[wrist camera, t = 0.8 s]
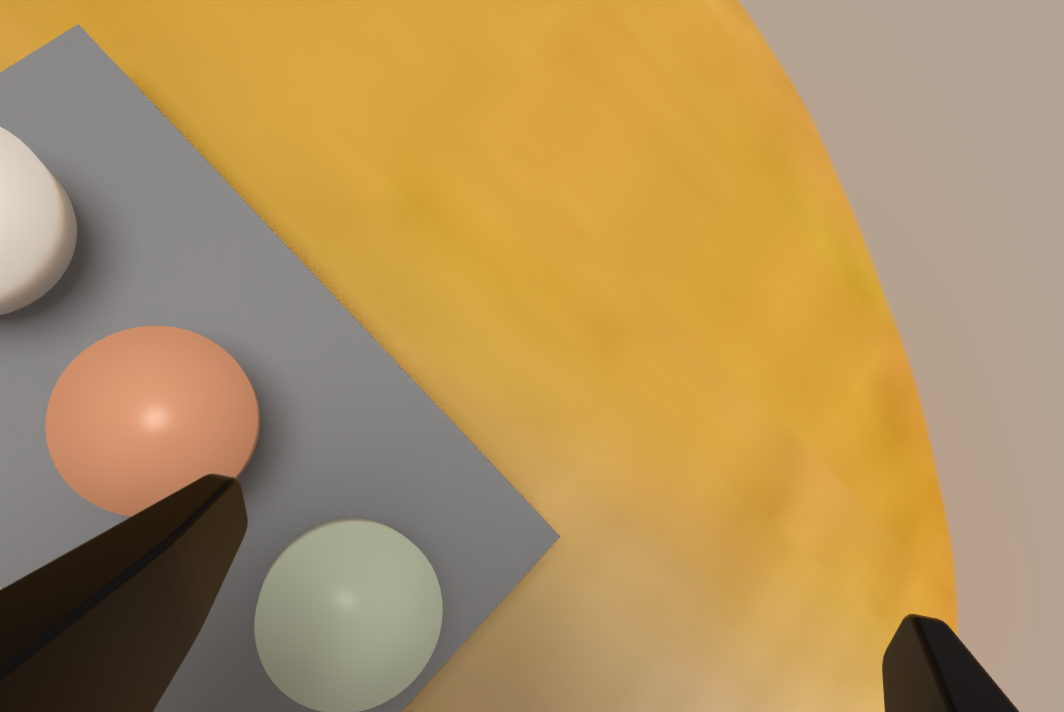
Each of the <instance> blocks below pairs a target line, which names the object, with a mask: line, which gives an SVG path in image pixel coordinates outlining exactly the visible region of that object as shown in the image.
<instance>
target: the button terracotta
mask: <svg viewBox="0 0 1064 712" xmlns="http://www.w3.org/2000/svg"><path fill="white" fill-rule="evenodd" d="M45 432H46V439H47V445H48V449H49V452H50V455H51V458H52V460H53V462H54V464H55V467H56V469H57V470H58V472H59V473H60V475H61V476H62V478H63V479H64V480H65V481H66V483H67V484H68V485H69V486H70V487H71V488H72V489H73V490H74V491H75V492H76V493H78V494H79V495H80V496H81V497H82V498H84V499H86V500H87V501H89V502H90V503H92V504H94V505H96V506H98V507H100V508H102V509H104V510H107V511H110V512H113V513H116V514H120V515H125V516H133V515H135V514H137V513H138V512H140V511H142V510H144V509H146V508H147V507H149V506H151V505H153V504H155V503H156V502H158V501H160V500H162V499H164V498H165V497H167V496H169V495H171V494H172V493H174V492H176V491H178V490H180V489H181V488H183V487H185V486H187V485H189V484H190V483H192V482H194V481H196V480H198V479H199V478H201V477H203V476H205V475H208V474H219V475H224V476H229V477H234V478H236V479H237V478H238V477H239V476H240V474H241V473H242V472H243V470H244V469H245V468H246V466H247V465H248V463H249V461H250V459H251V458H252V455H253V453H254V451H255V448H256V445H257V441H258V438H259V432H260V409H259V403H258V399H257V396H256V393H255V391H254V388H253V386H252V384H251V382H250V380H249V379H248V377H247V376H246V374H245V373H244V371H243V370H242V368H241V367H240V365H239V364H238V363H237V362H236V361H235V359H234V358H233V357H232V356H231V355H230V354H229V353H228V352H226V351H225V350H224V349H223V348H222V347H220V346H219V345H218V344H216V343H215V342H213V341H212V340H210V339H208V338H206V337H204V336H202V335H200V334H197V333H194V332H192V331H189V330H185V329H181V328H176V327H168V326H143V327H135V328H131V329H127V330H123V331H120V332H117V333H114V334H112V335H109V336H107V337H105V338H103V339H101V340H99V341H97V342H95V343H94V344H92V345H91V346H89V347H88V348H87V349H85V350H84V351H83V352H82V353H80V354H79V355H78V356H77V357H76V358H75V359H74V360H73V361H72V362H71V363H70V364H69V365H68V367H67V368H66V369H65V370H64V372H63V373H62V375H61V376H60V378H59V379H58V381H57V383H56V385H55V387H54V389H53V391H52V394H51V397H50V400H49V403H48V407H47V413H46V426H45Z"/></svg>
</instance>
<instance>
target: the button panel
mask: <svg viewBox="0 0 1064 712" xmlns="http://www.w3.org/2000/svg"><path fill="white" fill-rule="evenodd" d="M0 127H2V128H4V129H5V130H7V131H9V132H10V133H12V134H13V135H14V136H16V137H17V138H19V139H20V140H21V141H22V142H23V143H24V144H25V145H26V146H27V147H29V148H30V150H31V151H32V152H33V153H34V154H35V155H36V156H37V158H38V159H39V160H40V161H41V162H42V163H43V164H44V165H45V167H46V168H47V169H48V170H49V171H50V172H51V173H52V174H53V176H54V177H55V178H56V179H57V180H58V181H59V183H60V184H61V185H62V187H63V188H64V190H65V191H66V193H67V194H68V197H69V199H70V201H71V203H72V206H73V209H74V212H75V216H76V223H77V240H76V246H75V250H74V253H73V256H72V259H71V261H70V263H69V265H68V267H67V269H66V271H65V272H64V274H63V275H62V277H61V278H60V280H59V281H58V282H57V283H56V284H55V285H54V286H53V287H52V288H51V289H50V290H49V291H48V292H47V293H45V294H44V295H43V296H42V297H40V298H39V299H37V300H36V301H34V302H33V303H31V304H29V305H27V306H25V307H23V308H21V309H19V310H16V311H13V312H10V313H7V314H3V315H0V587H1V588H4V587H6V586H8V585H10V584H11V583H13V582H15V581H17V580H18V579H20V578H22V577H24V576H26V575H27V574H29V573H31V572H33V571H35V570H36V569H38V568H40V567H42V566H44V565H45V564H47V563H49V562H51V561H52V560H54V559H56V558H58V557H60V556H61V555H63V554H65V553H67V552H69V551H70V550H72V549H74V548H76V547H78V546H79V545H81V544H83V543H85V542H87V541H88V540H90V539H92V538H94V537H95V536H97V535H99V534H101V533H103V532H104V531H106V530H108V529H110V528H112V527H113V526H115V525H117V524H119V523H121V522H122V521H124V520H126V519H128V518H129V517H131V516H125V515H120V514H116V513H113V512H110V511H107V510H104V509H102V508H100V507H98V506H96V505H94V504H92V503H90V502H89V501H87V500H86V499H84V498H82V497H81V496H80V495H79V494H78V493H76V492H75V491H74V490H73V489H72V488H71V487H70V486H69V485H68V484H67V483H66V481H65V480H64V479H63V478H62V476H61V475H60V473H59V472H58V470H57V469H56V467H55V464H54V462H53V460H52V458H51V455H50V452H49V449H48V445H47V439H46V432H45V426H46V413H47V407H48V403H49V400H50V397H51V394H52V391H53V389H54V387H55V385H56V383H57V381H58V379H59V378H60V376H61V375H62V373H63V372H64V370H65V369H66V368H67V367H68V365H69V364H70V363H71V362H72V361H73V360H74V359H75V358H76V357H77V356H78V355H79V354H80V353H82V352H83V351H84V350H85V349H87V348H88V347H89V346H91V345H92V344H94V343H95V342H97V341H99V340H101V339H103V338H105V337H107V336H109V335H112V334H114V333H117V332H120V331H123V330H127V329H131V328H135V327H143V326H168V327H176V328H181V329H185V330H189V331H192V332H194V333H197V334H200V335H202V336H204V337H206V338H208V339H210V340H212V341H213V342H215V343H216V344H218V345H219V346H220V347H222V348H223V349H224V350H225V351H226V352H228V353H229V354H230V355H231V356H232V357H233V358H234V359H235V361H236V362H237V363H238V364H239V365H240V367H241V368H242V370H243V371H244V373H245V374H246V376H247V377H248V379H249V380H250V382H251V384H252V386H253V388H254V391H255V393H256V396H257V399H258V403H259V409H260V432H259V438H258V441H257V445H256V448H255V451H254V453H253V455H252V458H251V459H250V461H249V463H248V465H247V466H246V468H245V469H244V470H243V472H242V473H241V474H240V476H239V477H238V478H237V479H238V480H239V482H240V483H241V486H242V491H243V496H244V501H245V506H246V511H247V516H248V526H247V531H246V534H245V536H244V539H243V541H242V543H241V545H240V547H239V550H238V552H237V554H236V556H235V558H234V560H233V563H232V565H231V567H230V569H229V571H228V573H227V576H226V578H225V580H224V582H223V584H222V586H221V589H220V591H219V593H218V595H217V597H216V599H215V602H214V604H213V606H212V608H211V610H210V613H209V615H208V617H207V619H206V621H205V623H204V625H203V627H202V629H201V631H200V633H199V635H198V637H197V638H196V640H195V642H194V644H193V645H192V647H191V649H190V651H189V652H188V654H187V656H186V657H185V659H184V661H183V662H182V664H181V666H180V667H179V669H178V671H177V672H176V674H175V676H174V677H173V679H172V681H171V682H170V684H169V686H168V688H167V689H166V691H165V693H164V694H163V696H162V698H161V699H160V701H159V703H158V704H157V706H156V708H155V709H154V711H153V712H321V711H317V710H313V709H310V708H308V707H305V706H303V705H301V704H299V703H297V702H296V701H294V700H292V699H291V698H289V697H288V696H287V695H286V694H284V693H283V692H282V691H281V690H280V689H279V688H278V687H277V686H276V685H275V684H274V683H273V681H272V680H271V679H270V677H269V676H268V674H267V673H266V671H265V669H264V667H263V665H262V663H261V660H260V658H259V654H258V651H257V648H256V641H255V635H254V620H255V612H256V607H257V603H258V599H259V595H260V591H261V588H262V584H263V581H264V579H265V576H266V574H267V572H268V570H269V568H270V566H271V564H272V563H273V561H274V560H275V558H276V557H277V555H278V554H279V553H280V551H281V550H282V549H283V548H284V547H285V546H286V545H287V544H288V543H289V542H290V541H291V540H293V539H294V538H295V537H296V536H297V535H299V534H300V533H302V532H303V531H305V530H307V529H308V528H310V527H312V526H314V525H317V524H319V523H322V522H325V521H328V520H332V519H337V518H344V517H361V518H367V519H372V520H375V521H378V522H381V523H384V524H386V525H388V526H390V527H392V528H394V529H395V530H397V531H398V532H400V533H401V534H402V535H404V536H405V537H406V538H407V539H409V540H410V541H411V542H412V543H413V544H414V545H415V546H417V547H418V548H419V549H420V551H421V552H422V553H423V554H424V555H425V556H426V558H427V559H428V561H429V563H430V564H431V566H432V567H433V570H434V572H435V574H436V576H437V579H438V582H439V586H440V589H441V595H442V605H443V615H442V625H441V630H440V634H439V638H438V641H437V644H436V647H435V649H434V651H433V653H432V655H431V657H430V659H429V661H428V662H427V664H426V666H425V667H424V669H423V670H422V671H421V673H420V674H419V675H418V676H417V678H416V679H415V680H414V681H413V682H412V683H411V684H410V685H409V686H408V687H407V688H406V689H404V690H403V691H402V692H400V693H399V694H398V695H396V696H395V697H393V698H392V699H390V700H388V701H387V702H385V703H383V704H380V705H378V706H376V707H373V708H370V709H367V710H363V711H359V712H401V711H402V710H403V709H404V708H405V707H406V706H407V705H408V704H409V703H410V702H411V700H412V699H413V698H414V697H415V696H416V695H417V694H418V693H419V692H420V691H421V689H422V688H423V687H424V686H425V685H426V684H427V683H428V682H429V681H430V680H431V678H432V677H433V676H434V675H435V674H436V673H437V672H438V671H439V670H440V669H441V667H442V666H443V665H444V664H445V663H446V662H447V661H448V660H449V659H450V657H451V656H452V655H453V654H454V653H455V652H456V651H457V650H458V649H459V648H460V646H461V645H462V644H463V643H464V642H465V641H466V640H467V639H468V638H469V637H470V635H471V634H472V633H473V632H474V631H475V630H476V629H477V628H478V627H479V626H480V624H481V623H482V622H483V621H484V620H485V619H486V618H487V617H488V616H489V614H490V613H491V612H492V611H493V610H494V609H495V608H496V607H497V606H498V605H499V603H500V602H501V601H502V600H503V599H504V598H505V597H506V596H507V595H508V594H509V592H510V591H511V590H512V589H513V588H514V587H515V586H516V585H517V584H518V583H519V581H520V580H521V579H522V578H523V577H524V576H525V575H526V574H527V573H528V572H529V570H530V569H531V568H532V567H533V566H534V565H535V564H536V563H537V562H538V560H539V559H540V558H541V557H542V556H543V555H544V554H545V553H546V552H547V551H548V549H549V548H550V547H551V546H552V545H553V544H554V543H555V542H556V541H557V540H558V538H559V537H560V536H559V535H558V534H557V533H556V532H555V531H554V529H553V528H552V527H551V526H550V525H549V524H548V523H547V522H546V521H545V520H544V519H543V518H542V517H541V516H540V515H539V513H538V512H537V511H536V510H535V509H534V508H533V507H532V506H531V505H530V504H529V503H528V502H527V501H526V500H525V499H524V498H523V496H522V495H521V494H520V493H519V492H518V491H517V490H516V489H515V488H514V487H513V486H512V485H511V484H510V483H509V482H508V481H507V479H506V478H505V477H504V476H503V475H502V474H501V473H500V472H499V471H498V470H497V469H496V468H495V467H494V466H493V465H492V464H491V462H490V461H489V460H488V459H487V458H486V457H485V456H484V455H483V454H482V453H481V452H480V451H479V450H478V449H477V448H476V447H475V445H474V444H473V443H472V442H471V441H470V440H469V439H468V438H467V437H466V436H465V435H464V434H463V433H462V432H461V431H460V430H459V428H458V427H457V426H456V425H455V424H454V423H453V422H452V421H451V420H450V419H449V418H448V417H447V416H446V415H445V414H444V412H443V411H442V410H441V409H440V408H439V407H438V406H437V405H436V404H435V403H434V402H433V401H432V400H431V399H430V398H429V397H428V395H427V394H426V393H425V392H424V391H423V390H422V389H421V388H420V387H419V386H418V385H417V384H416V383H415V382H414V381H413V380H412V378H411V377H410V376H409V375H408V374H407V373H406V372H405V371H404V370H403V369H402V368H401V367H400V366H399V365H398V364H397V363H396V361H395V360H394V359H393V358H392V357H391V356H390V355H389V354H388V353H387V352H386V351H385V350H384V349H383V348H382V347H381V346H380V344H379V343H378V342H377V341H376V340H375V339H374V338H373V337H372V336H371V335H370V334H369V333H368V332H367V331H366V330H365V328H364V327H363V326H362V325H361V324H360V323H359V322H358V321H357V320H356V319H355V318H354V317H353V316H352V315H351V314H350V313H349V311H348V310H347V309H346V308H345V307H344V306H343V305H342V304H341V303H340V302H339V301H338V300H337V299H336V298H335V297H334V296H333V294H332V293H331V292H330V291H329V290H328V289H327V288H326V287H325V286H324V285H323V284H322V283H321V282H320V281H319V280H318V279H317V277H316V276H315V275H314V274H313V273H312V272H311V271H310V270H309V269H308V268H307V267H306V266H305V265H304V264H303V263H302V262H301V260H300V259H299V258H298V257H297V256H296V255H295V254H294V253H293V252H292V251H291V250H290V249H289V248H288V247H287V246H286V245H285V243H284V242H283V241H282V240H281V239H280V238H279V237H278V236H277V235H276V234H275V233H274V232H273V231H272V230H271V229H270V227H269V226H268V225H267V224H266V223H265V222H264V221H263V220H262V219H261V218H260V217H259V216H258V215H257V214H256V213H255V212H254V210H253V209H252V208H251V207H250V206H249V205H248V204H247V203H246V202H245V201H244V200H243V199H242V198H241V197H240V196H239V195H238V193H237V192H236V191H235V190H234V189H233V188H232V187H231V186H230V185H229V184H228V183H227V182H226V181H225V180H224V179H223V178H222V176H221V175H220V174H219V173H218V172H217V171H216V170H215V169H214V168H213V167H212V166H211V165H210V164H209V163H208V162H207V161H206V159H205V158H204V157H203V156H202V155H201V154H200V153H199V152H198V151H197V150H196V149H195V148H194V147H193V146H192V145H191V144H190V142H189V141H188V140H187V139H186V138H185V137H184V136H183V135H182V134H181V133H180V132H179V131H178V130H177V129H176V128H175V126H174V125H173V124H172V123H171V122H170V121H169V120H168V119H167V118H166V117H165V116H164V115H163V114H162V113H161V112H160V111H159V109H158V108H157V107H156V106H155V105H154V104H153V103H152V102H151V101H150V100H149V99H148V98H147V97H146V96H145V95H144V94H143V92H142V91H141V90H140V89H139V88H138V87H137V86H136V85H135V84H134V83H133V82H132V81H131V80H130V79H129V78H128V77H127V75H126V74H125V73H124V72H123V71H122V70H121V69H120V68H119V67H118V66H117V65H116V64H115V63H114V62H113V61H112V60H111V58H110V57H109V56H108V55H107V54H106V53H105V52H104V51H103V50H102V49H101V48H100V47H99V46H98V45H97V44H96V42H95V41H94V40H93V39H92V38H91V37H90V36H89V35H88V34H87V33H86V32H85V31H84V30H83V29H82V28H81V27H80V25H79V24H78V25H76V26H75V27H73V28H71V29H70V30H68V31H66V32H65V33H63V34H62V35H60V36H58V37H57V38H55V39H54V40H52V41H50V42H49V43H47V44H46V45H44V46H42V47H41V48H39V49H37V50H36V51H34V52H33V53H31V54H29V55H28V56H26V57H25V58H23V59H21V60H20V61H18V62H17V63H15V64H13V65H12V66H10V67H8V68H7V69H5V70H4V71H2V72H0Z"/></svg>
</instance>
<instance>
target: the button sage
mask: <svg viewBox="0 0 1064 712" xmlns="http://www.w3.org/2000/svg"><path fill="white" fill-rule="evenodd" d="M442 615H443V605H442V595H441V589H440V586H439V582H438V579H437V576H436V574H435V572H434V570H433V567H432V566H431V564H430V563H429V561H428V559H427V558H426V556H425V555H424V554H423V553H422V552H421V551H420V549H419V548H418V547H417V546H415V545H414V544H413V543H412V542H411V541H410V540H409V539H407V538H406V537H405V536H404V535H402V534H401V533H400V532H398V531H397V530H395V529H394V528H392V527H390V526H388V525H386V524H384V523H381V522H378V521H375V520H372V519H367V518H361V517H344V518H337V519H332V520H328V521H325V522H322V523H319V524H317V525H314V526H312V527H310V528H308V529H307V530H305V531H303V532H302V533H300V534H299V535H297V536H296V537H295V538H294V539H293V540H291V541H290V542H289V543H288V544H287V545H286V546H285V547H284V548H283V549H282V550H281V551H280V553H279V554H278V555H277V557H276V558H275V560H274V561H273V563H272V564H271V566H270V568H269V570H268V572H267V574H266V576H265V579H264V581H263V584H262V588H261V591H260V595H259V599H258V603H257V607H256V612H255V620H254V635H255V641H256V648H257V651H258V654H259V658H260V660H261V663H262V665H263V667H264V669H265V671H266V673H267V674H268V676H269V677H270V679H271V680H272V681H273V683H274V684H275V685H276V686H277V687H278V688H279V689H280V690H281V691H282V692H283V693H284V694H286V695H287V696H288V697H289V698H291V699H292V700H294V701H296V702H297V703H299V704H301V705H303V706H305V707H308V708H310V709H313V710H317V711H321V712H359V711H363V710H367V709H370V708H373V707H376V706H378V705H380V704H383V703H385V702H387V701H388V700H390V699H392V698H393V697H395V696H396V695H398V694H399V693H400V692H402V691H403V690H404V689H406V688H407V687H408V686H409V685H410V684H411V683H412V682H413V681H414V680H415V679H416V678H417V676H418V675H419V674H420V673H421V671H422V670H423V669H424V667H425V666H426V664H427V662H428V661H429V659H430V657H431V655H432V653H433V651H434V649H435V647H436V644H437V641H438V638H439V634H440V630H441V625H442Z"/></svg>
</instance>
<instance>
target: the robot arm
mask: <svg viewBox="0 0 1064 712" xmlns="http://www.w3.org/2000/svg"><path fill="white" fill-rule="evenodd" d="M247 526H248V516H247V511H246V506H245V501H244V496H243V491H242V486H241V483H240V482H239V480H238V479H236V478H234V477H229V476H224V475H219V474H208V475H205V476H203V477H201V478H199V479H198V480H196V481H194V482H192V483H190V484H189V485H187V486H185V487H183V488H181V489H180V490H178V491H176V492H174V493H172V494H171V495H169V496H167V497H165V498H164V499H162V500H160V501H158V502H156V503H155V504H153V505H151V506H149V507H147V508H146V509H144V510H142V511H140V512H138V513H137V514H135V515H133V516H131V517H129V518H128V519H126V520H124V521H122V522H121V523H119V524H117V525H115V526H113V527H112V528H110V529H108V530H106V531H104V532H103V533H101V534H99V535H97V536H95V537H94V538H92V539H90V540H88V541H87V542H85V543H83V544H81V545H79V546H78V547H76V548H74V549H72V550H70V551H69V552H67V553H65V554H63V555H61V556H60V557H58V558H56V559H54V560H52V561H51V562H49V563H47V564H45V565H44V566H42V567H40V568H38V569H36V570H35V571H33V572H31V573H29V574H27V575H26V576H24V577H22V578H20V579H18V580H17V581H15V582H13V583H11V584H10V585H8V586H6V587H4V588H2V589H1V590H0V712H153V711H154V709H155V708H156V706H157V704H158V703H159V701H160V699H161V698H162V696H163V694H164V693H165V691H166V689H167V688H168V686H169V684H170V682H171V681H172V679H173V677H174V676H175V674H176V672H177V671H178V669H179V667H180V666H181V664H182V662H183V661H184V659H185V657H186V656H187V654H188V652H189V651H190V649H191V647H192V645H193V644H194V642H195V640H196V638H197V637H198V635H199V633H200V631H201V629H202V627H203V625H204V623H205V621H206V619H207V617H208V615H209V613H210V610H211V608H212V606H213V604H214V602H215V599H216V597H217V595H218V593H219V591H220V589H221V586H222V584H223V582H224V580H225V578H226V576H227V573H228V571H229V569H230V567H231V565H232V563H233V560H234V558H235V556H236V554H237V552H238V550H239V547H240V545H241V543H242V541H243V539H244V536H245V534H246V531H247ZM882 674H883V689H884V705H885V712H1019V711H1018V709H1017V708H1016V707H1015V706H1014V705H1013V703H1012V702H1011V701H1010V700H1009V698H1008V697H1007V696H1006V695H1005V694H1004V693H1003V691H1002V690H1001V689H1000V688H999V686H998V685H997V684H996V683H995V682H994V680H993V679H992V678H991V677H990V675H989V674H988V673H987V672H986V671H985V669H984V668H983V667H982V666H981V665H980V663H979V662H978V661H977V660H976V659H975V657H974V656H973V655H972V654H971V652H970V651H969V650H968V649H967V648H966V646H965V645H964V644H963V643H962V642H961V640H960V639H959V638H958V637H957V636H956V634H955V633H954V632H953V631H952V629H951V628H950V627H949V626H948V625H947V624H946V623H945V622H943V621H942V620H939V619H936V618H931V617H926V616H921V615H916V614H909V615H907V616H906V617H905V618H904V619H903V620H902V622H901V624H900V626H899V627H898V629H897V631H896V633H895V635H894V636H893V638H892V640H891V642H890V644H889V645H888V647H887V649H886V651H885V654H884V657H883V664H882Z"/></svg>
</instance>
